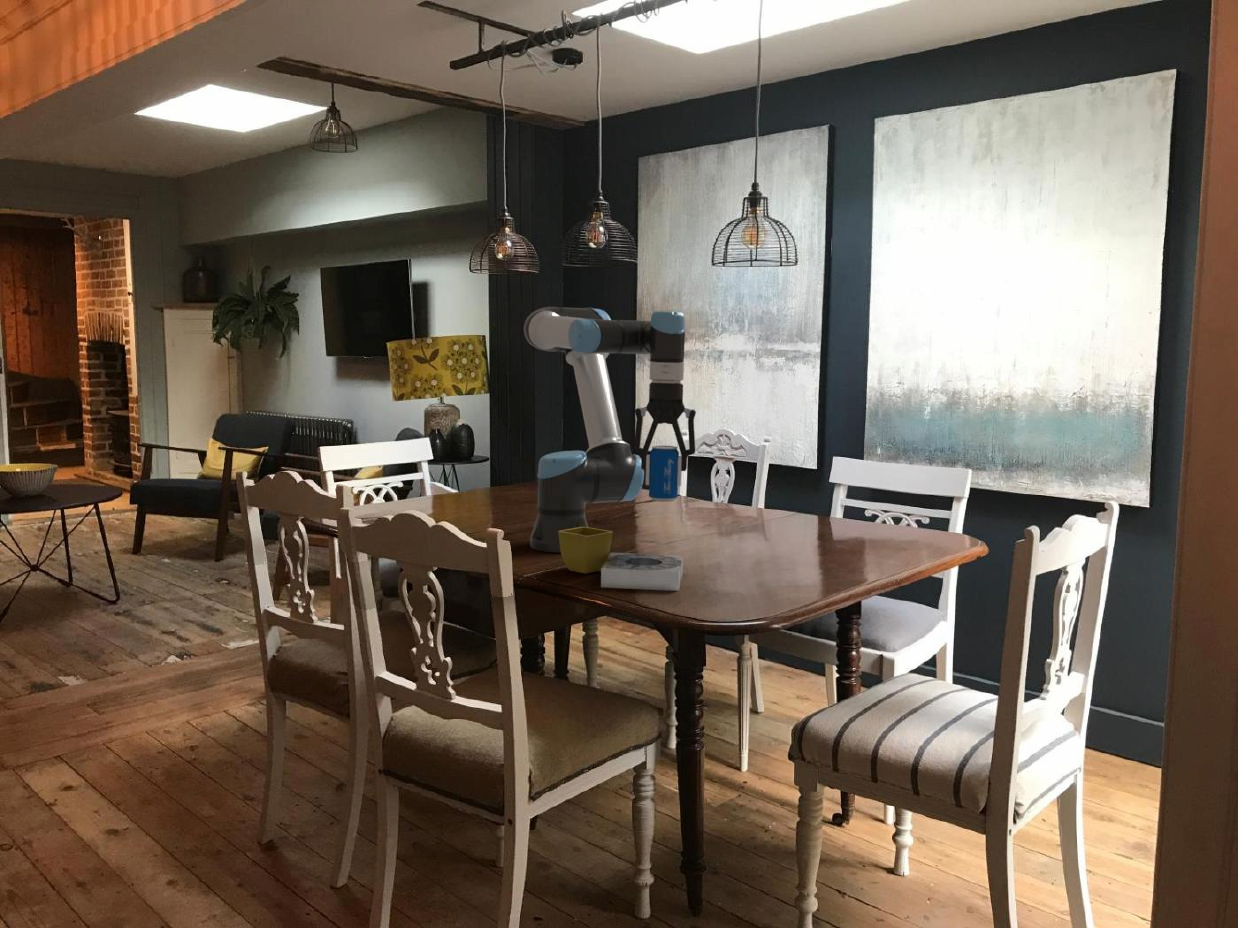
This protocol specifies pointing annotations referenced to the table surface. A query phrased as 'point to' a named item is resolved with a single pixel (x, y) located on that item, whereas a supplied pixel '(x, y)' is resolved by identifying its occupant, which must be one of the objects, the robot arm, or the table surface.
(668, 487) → the beverage can
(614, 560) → the jig
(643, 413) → the robot arm
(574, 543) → the flower pot
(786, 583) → the table surface
